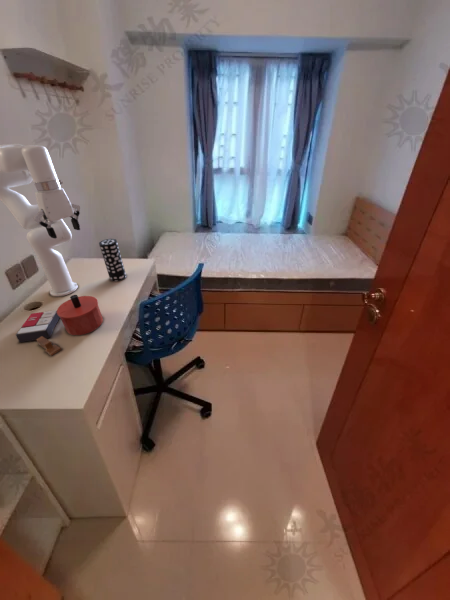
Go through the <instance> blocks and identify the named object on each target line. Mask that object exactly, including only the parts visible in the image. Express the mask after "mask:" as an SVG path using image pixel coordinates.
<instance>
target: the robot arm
mask: <svg viewBox="0 0 450 600" xmlns="http://www.w3.org/2000/svg"><path fill="white" fill-rule="evenodd" d="M32 182H33V184H34V187H35V189H36V191H35V192H34V194H35V200H36V204H31V203H30V202H29V200H28V199H27V198H26V197H25V196H24V195H23V194H21V193H20V192H17V191H16V190H13V189H11V188H16V187H21V186H26V185H30V184H31V183H32ZM63 184H64V183H63V181H62V179H59V178H58V175H57V173H56V170H55V167H54V164H53V162H52V158H51V156H50V153H49V150H48V149H47V147H45V146H44V145H36V144H26V145H24V144H22V143H7V144H0V202H1V203H3V205H4V206H6V208H7V210H9V212H10V213H11V214H12V216H13V217H14V219H15V221H17V223H18V224H19V225H20V226H21V227H22V229H24V230H29V231H28V232H27V233H26V240H27V242H28V244H29V246H30V247H31V248H32V250H33V251H34V253H35V255H36V257H37V259H38V262H39V263H40V265H41V268H42V269H43V272H44V274H45V277H46V279H47V281H48V283H49V286H50V289H49V291H48V292H49V294H50V296H51V297H64V296H67V295H71V294H72V293H74V292H75V291H76V290H78V287H79V286H78V284H77V282H75V281H73V280H72V277H71V274H70V272H69V269H68V267H67V264H66V262H65V260H64V257H63V255H62V253H61V252H60V251H58V250H56V249H54V248H56V247H59V246H62V245H64V244H67V243H69V242H71V241H72V240H73V239H72V238H73V234H72V231H71V230H70V228H69V227H68V225H67V224H66V222H65V221H64V219H67V218H71V219H70V222H71V225H72V227H73V230H75V231H81V226H80V222H79V217H80V214H81V212H80V211H81V206H80V205H78V204H74V203H71V201H70V199H69V197H68V195H67V193H66V191H65V189H64V188H63V187H62V185H63Z"/></svg>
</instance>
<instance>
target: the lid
mask: <svg viewBox="0 0 450 600" xmlns="http://www.w3.org/2000/svg"><path fill="white" fill-rule="evenodd" d="M69 298H70V299H68V300H66V301H64V302H62V303H61V304H60V305H59V306H58V307H57V308H56V311H57V314H58V316H59V317H61V318H65V319H72V318H78V317H81V316H84V315H86V314H88V313H90V312H92V311H93V310H94V309H95V308H96V307H97V305H98V306H99V300H98V299H97V297H95V296H91V295H81V296H78V294H73V295H70V297H69ZM61 318H60V319H61Z"/></svg>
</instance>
